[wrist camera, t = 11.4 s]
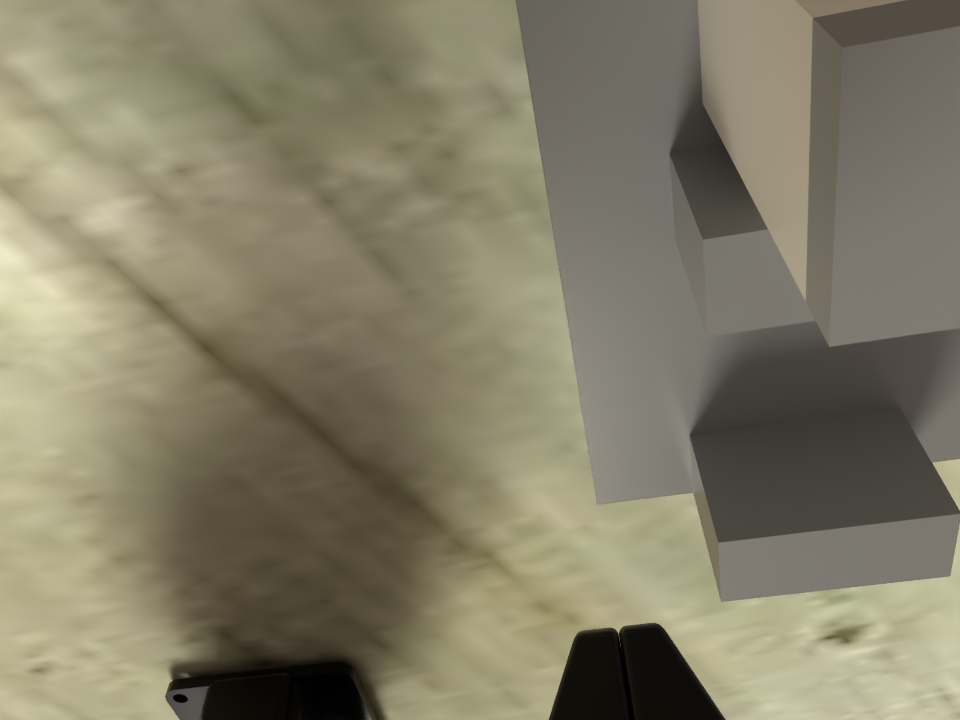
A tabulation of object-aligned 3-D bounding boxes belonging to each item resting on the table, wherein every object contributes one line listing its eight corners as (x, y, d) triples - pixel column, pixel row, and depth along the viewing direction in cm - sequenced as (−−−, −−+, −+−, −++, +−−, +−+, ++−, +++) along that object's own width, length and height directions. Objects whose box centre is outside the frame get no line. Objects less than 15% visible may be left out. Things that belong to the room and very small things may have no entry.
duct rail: (976, 423, 23) (1076, 573, 19) (593, 472, 25) (612, 624, 21) (1126, -427, 14) (1397, -480, 9) (473, -275, 15) (465, -264, 11)
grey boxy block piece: (898, 68, 17) (1152, 299, 10) (702, 103, 17) (829, 346, 11) (915, -149, 15) (1248, -27, 8) (692, -102, 15) (842, 47, 9)
